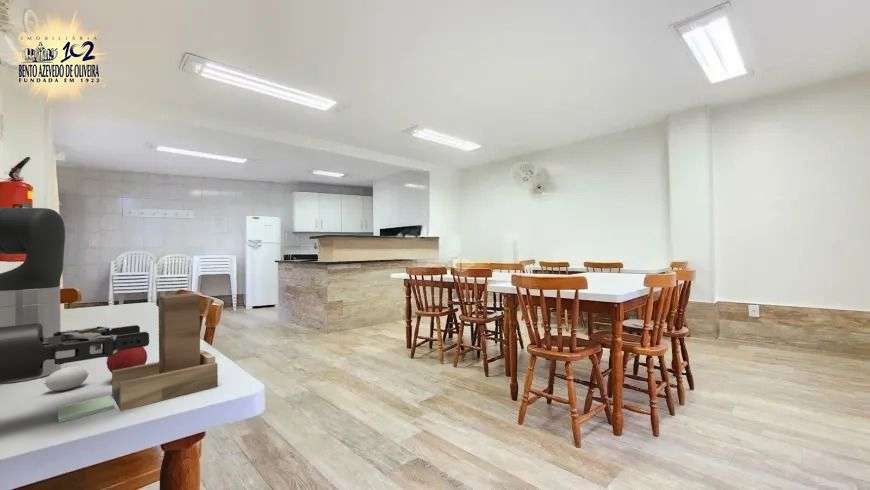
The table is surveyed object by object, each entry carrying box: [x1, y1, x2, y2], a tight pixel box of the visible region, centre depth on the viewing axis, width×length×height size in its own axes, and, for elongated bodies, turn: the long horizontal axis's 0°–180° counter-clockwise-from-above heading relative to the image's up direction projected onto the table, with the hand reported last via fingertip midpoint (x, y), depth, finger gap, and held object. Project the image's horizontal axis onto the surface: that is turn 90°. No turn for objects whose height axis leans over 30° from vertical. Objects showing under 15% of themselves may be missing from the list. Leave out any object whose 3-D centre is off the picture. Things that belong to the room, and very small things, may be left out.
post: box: [157, 293, 201, 374], centre depth 65 cm, size 5×5×14 cm
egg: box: [43, 366, 90, 392], centre depth 65 cm, size 4×6×4 cm, turn 151°
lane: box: [111, 349, 219, 412], centre depth 63 cm, size 10×13×5 cm
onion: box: [106, 347, 148, 374], centre depth 70 cm, size 6×6×8 cm
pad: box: [56, 395, 116, 423], centre depth 56 cm, size 6×6×1 cm
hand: (143, 334), depth 61 cm, fingers open, 8 cm apart
